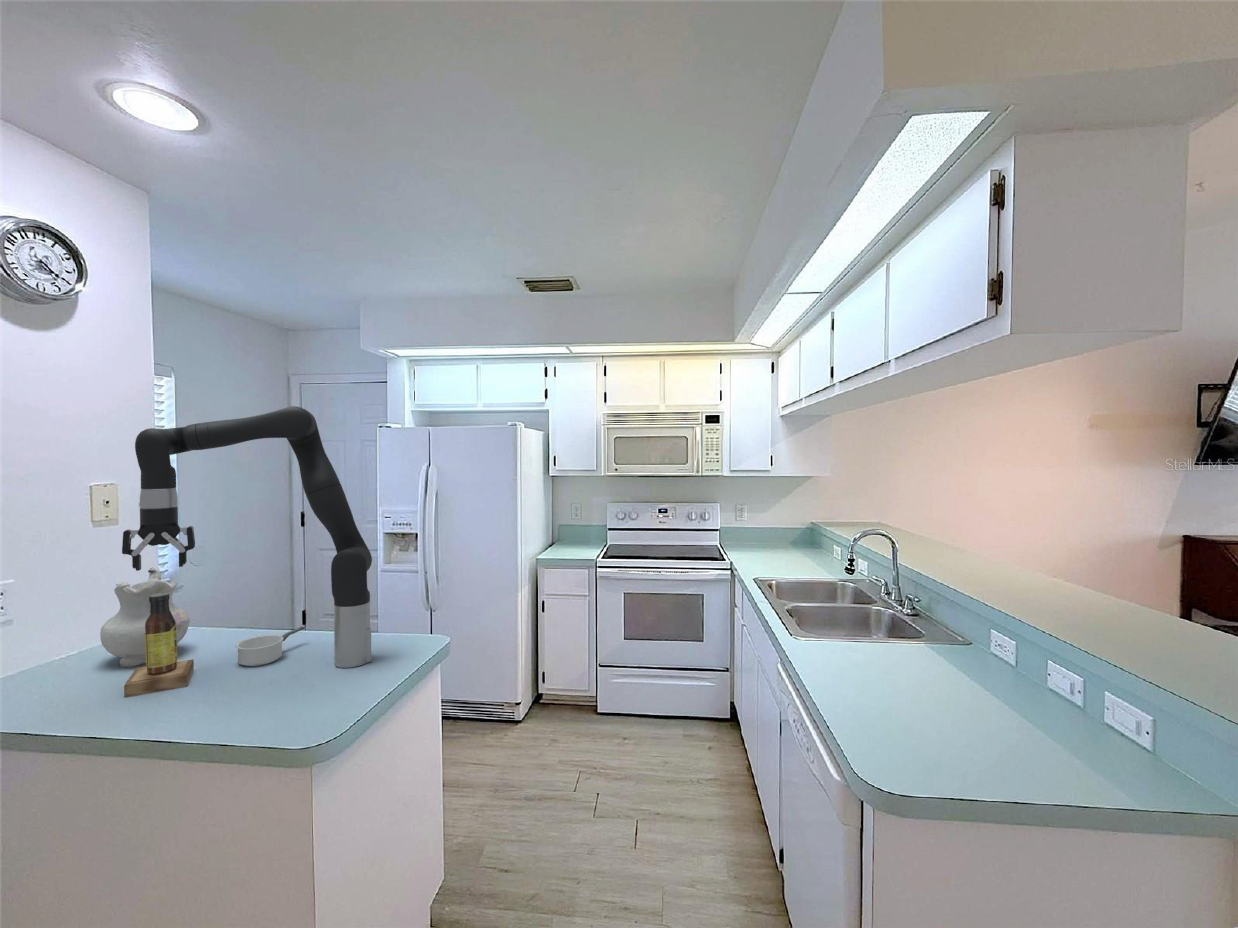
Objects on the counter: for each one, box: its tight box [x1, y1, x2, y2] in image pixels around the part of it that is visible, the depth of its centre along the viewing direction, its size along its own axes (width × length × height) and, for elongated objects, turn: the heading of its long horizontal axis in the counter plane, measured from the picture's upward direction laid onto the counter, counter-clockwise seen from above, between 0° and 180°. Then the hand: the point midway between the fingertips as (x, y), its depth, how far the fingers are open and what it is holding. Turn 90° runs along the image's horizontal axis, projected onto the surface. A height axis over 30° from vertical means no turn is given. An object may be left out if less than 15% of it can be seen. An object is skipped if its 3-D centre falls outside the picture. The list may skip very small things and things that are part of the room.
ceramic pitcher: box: [99, 567, 190, 668], centre depth 157 cm, size 22×20×25 cm
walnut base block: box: [123, 658, 194, 698], centre depth 140 cm, size 12×12×3 cm
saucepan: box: [235, 626, 306, 667], centre depth 159 cm, size 12×20×6 cm, turn 161°
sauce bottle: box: [145, 593, 178, 674], centre depth 140 cm, size 6×6×20 cm
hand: (160, 568), depth 139 cm, fingers open, 8 cm apart
